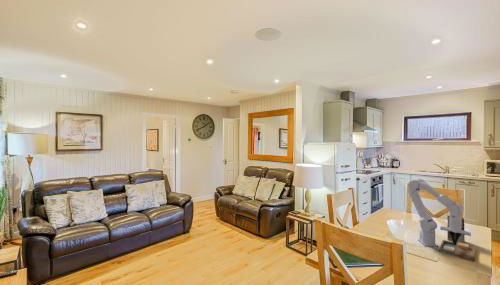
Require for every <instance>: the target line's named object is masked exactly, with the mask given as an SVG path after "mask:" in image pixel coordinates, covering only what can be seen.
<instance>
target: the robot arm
mask: <svg viewBox="0 0 500 285" xmlns="http://www.w3.org/2000/svg"><path fill="white" fill-rule="evenodd" d="M407 186H408V195H409V197H410V199H411V201H412V203H413V205H414V207H415V210H416V211H417V214H418V216H419V226H420V228H421V229H420V230H419V238H418V241H419V242H420V243H421V244H422V245H423V246H426V247H439V245H438V244H436V229H437V228H438V223H437V222H436V221H435V220H434V219H433V217H432V216H430V215H429V213H428V211H427V208H426V207H425V204H424V203H423V200H422V198H421V196H420V194H419V193H420V191H421V190H422V191H425V192H428V193H429V194H431V195H432V196H434V197H435V198H436V199H437V201H438V202H439V203H440V204H441V205H442V206H444V207H446V208H447V209H448V212H449V216H450V223H449V227H448V226H442V225H440V226H439V227H440V228H439V229H440V230H441V231H447V232H448V231H450V232H449V234H450V236H451V238H452V240H453V241H452V242H453V244H455V245H456V243H458V242H457V240H458V238H459V237H460V236H461V234H464V236H468V237H471V236H472V232H470V231H467V230H465V229H464V230H461V224H462V218H463V217H462V214H463V213H462V212H463V211H464V206H463V205H462V204H461V203H459V202H457V201H456V200H453V199H452V198H450V197H449V195H448V194H442V193H440V192H439V191H438V190H436V189H435V188H434V187H432V186H431V185H430V184H429V183H428V182H427V181H426V180H425V181H424V179H421V178H417V179H411V180H409V182H408V183H407Z"/></svg>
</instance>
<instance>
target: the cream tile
mask: <svg viewBox="0 0 500 285" xmlns="http://www.w3.org/2000/svg"><path fill="white" fill-rule="evenodd" d="M443 249H445V250H449V251H453V252H454V248H453V247H449V246H445V245H444V248H443Z"/></svg>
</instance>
